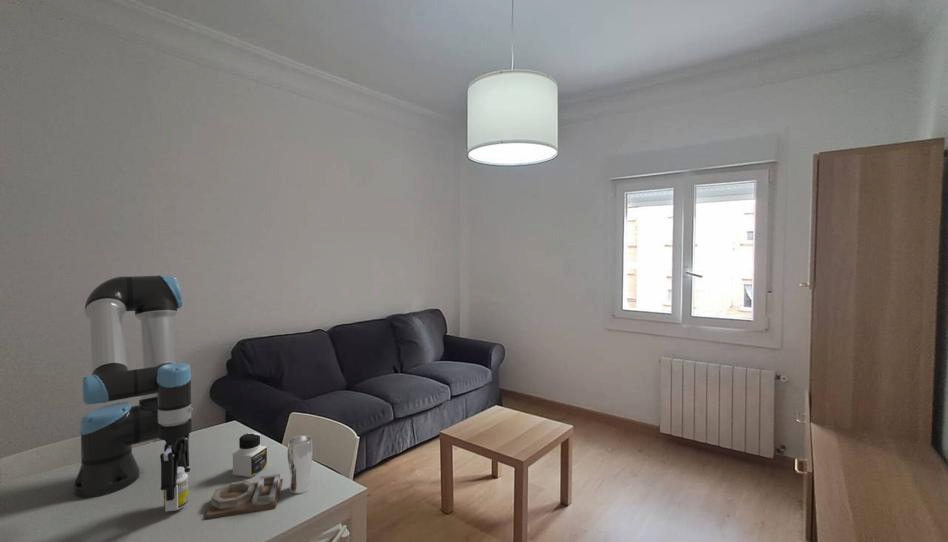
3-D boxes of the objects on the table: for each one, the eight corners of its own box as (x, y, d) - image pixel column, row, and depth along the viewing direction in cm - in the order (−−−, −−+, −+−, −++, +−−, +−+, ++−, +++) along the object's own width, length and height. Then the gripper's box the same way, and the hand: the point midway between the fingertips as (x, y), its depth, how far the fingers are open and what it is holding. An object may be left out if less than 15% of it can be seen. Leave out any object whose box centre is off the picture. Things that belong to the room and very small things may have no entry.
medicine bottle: (251, 478, 132) (251, 440, 131) (232, 475, 133) (231, 438, 133) (267, 467, 139) (267, 431, 138) (248, 464, 140) (248, 429, 140)
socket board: (220, 490, 125) (220, 480, 125) (282, 481, 130) (282, 472, 130) (205, 518, 111) (205, 508, 111) (275, 508, 116) (275, 497, 116)
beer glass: (283, 488, 126) (283, 439, 126) (306, 479, 131) (306, 432, 131) (293, 497, 121) (293, 447, 121) (316, 488, 127) (316, 439, 126)
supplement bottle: (160, 507, 115) (159, 471, 114) (182, 497, 119) (182, 462, 119) (169, 514, 112) (168, 477, 111) (192, 504, 116) (191, 468, 116)
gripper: (178, 433, 107) (179, 521, 108) (201, 407, 124) (202, 483, 126) (143, 437, 104) (144, 526, 106) (172, 409, 122) (173, 486, 123)
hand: (176, 502), depth 116 cm, fingers closed on supplement bottle, 6 cm apart
